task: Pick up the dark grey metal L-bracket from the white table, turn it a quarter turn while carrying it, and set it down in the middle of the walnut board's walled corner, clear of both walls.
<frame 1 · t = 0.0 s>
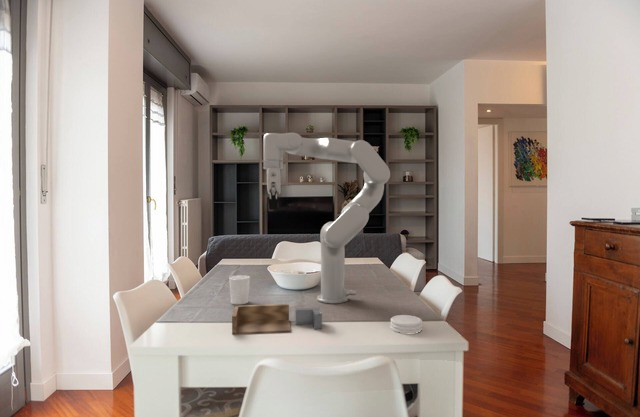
hand: (273, 209, 167), 37 cm above the table, tool pointing down, fingers open, 9 cm apart
coaster: (406, 330, 137), on the table
bracket: (307, 323, 142), on the table
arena: (261, 327, 138), on the table
white cup: (239, 302, 167), on the table
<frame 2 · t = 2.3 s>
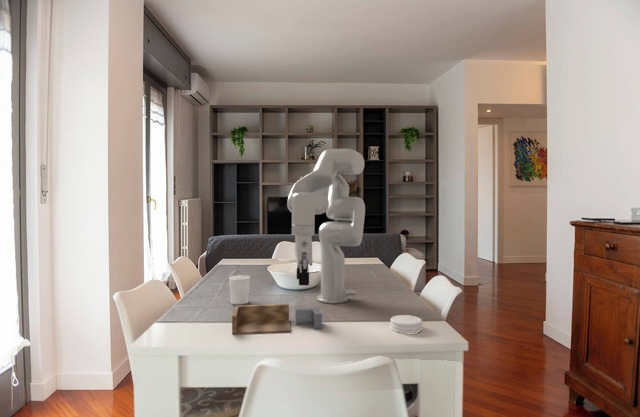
hand: (302, 282, 140), 14 cm above the table, tool pointing down, fingers open, 9 cm apart
nothing on the table moved.
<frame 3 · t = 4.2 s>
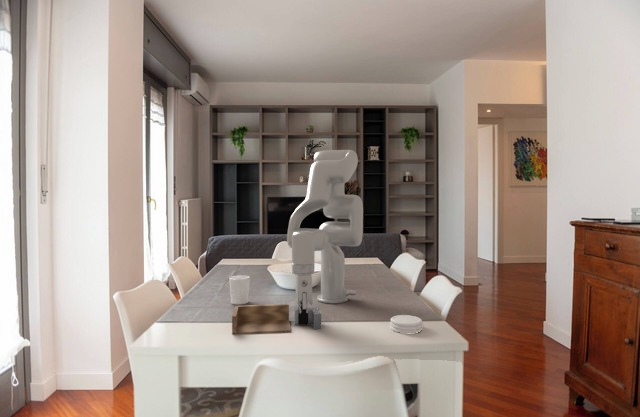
hand: (302, 323, 141), 0 cm above the table, tool pointing down, fingers closed on bracket
bracket: (306, 323, 142), on the table, touching gripper
everything else where it was.
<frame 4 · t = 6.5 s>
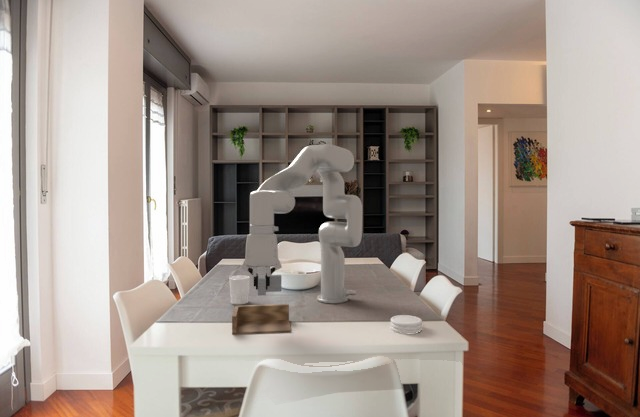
hand: (261, 288, 134), 13 cm above the table, tool pointing down, fingers closed on bracket
bracket: (261, 292, 134), point 12 cm above the table, touching gripper
everything else where it was.
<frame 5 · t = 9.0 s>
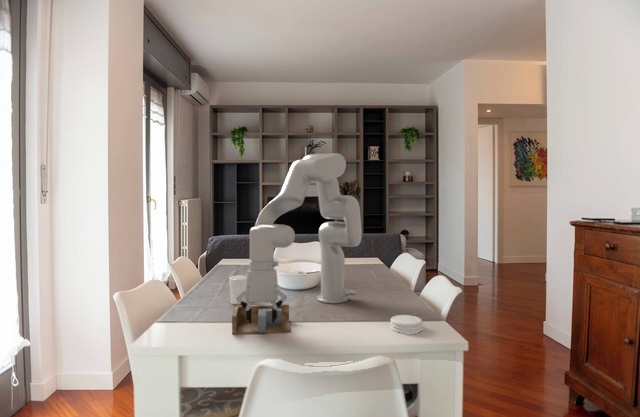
hand: (261, 321, 135), 3 cm above the table, tool pointing down, fingers open, 6 cm apart
bracket: (262, 328, 135), point 1 cm above the table, touching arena
everything else where it was.
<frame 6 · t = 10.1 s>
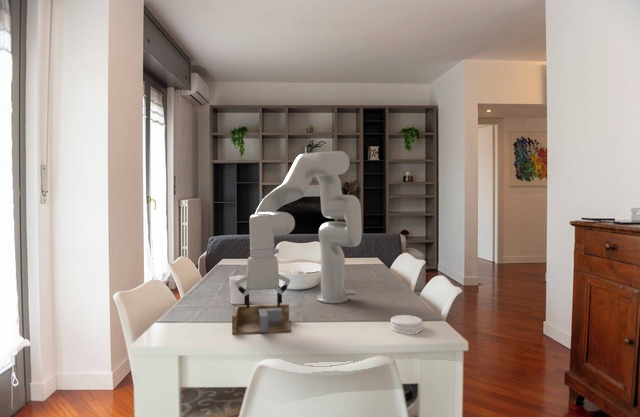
hand: (263, 306, 135), 7 cm above the table, tool pointing down, fingers open, 9 cm apart
nothing on the table moved.
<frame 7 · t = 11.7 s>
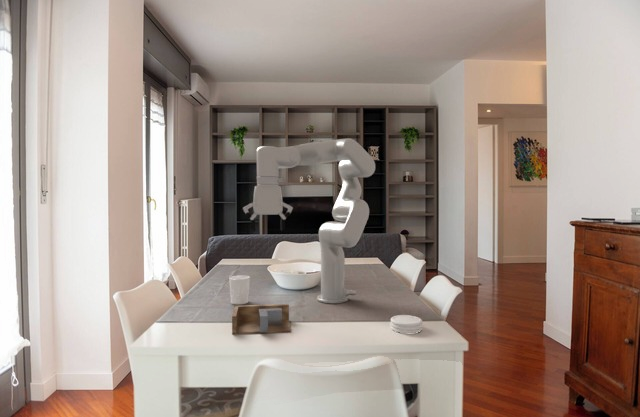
hand: (268, 231, 149), 30 cm above the table, tool pointing down, fingers open, 9 cm apart
nothing on the table moved.
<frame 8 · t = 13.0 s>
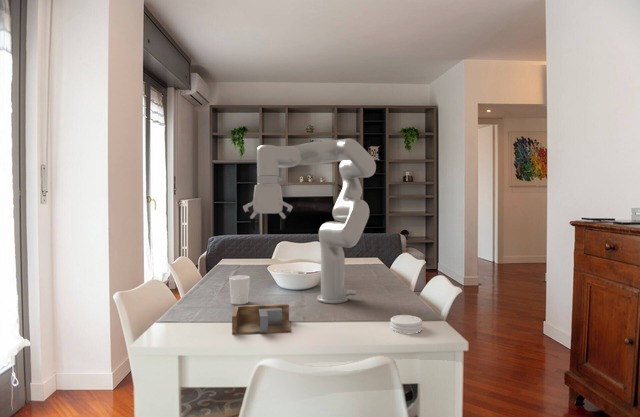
hand: (267, 229, 150), 30 cm above the table, tool pointing down, fingers open, 9 cm apart
nothing on the table moved.
at the end: bracket inside the target area on the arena (0.8 cm from its centre), point 0.6 cm above the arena's base; bracket tilted 0°; the gripper is holding nothing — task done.
